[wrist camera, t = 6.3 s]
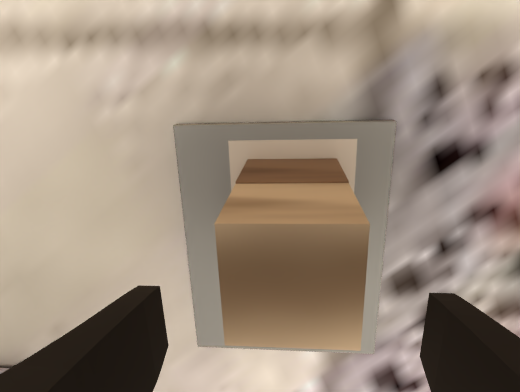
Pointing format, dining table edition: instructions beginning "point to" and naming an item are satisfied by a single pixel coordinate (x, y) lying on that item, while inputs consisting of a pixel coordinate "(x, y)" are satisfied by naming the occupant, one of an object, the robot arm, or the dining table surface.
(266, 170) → the walnut block
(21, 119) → the dining table surface
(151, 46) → the dining table surface
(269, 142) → the board
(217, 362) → the dining table surface
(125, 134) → the dining table surface
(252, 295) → the maple block
